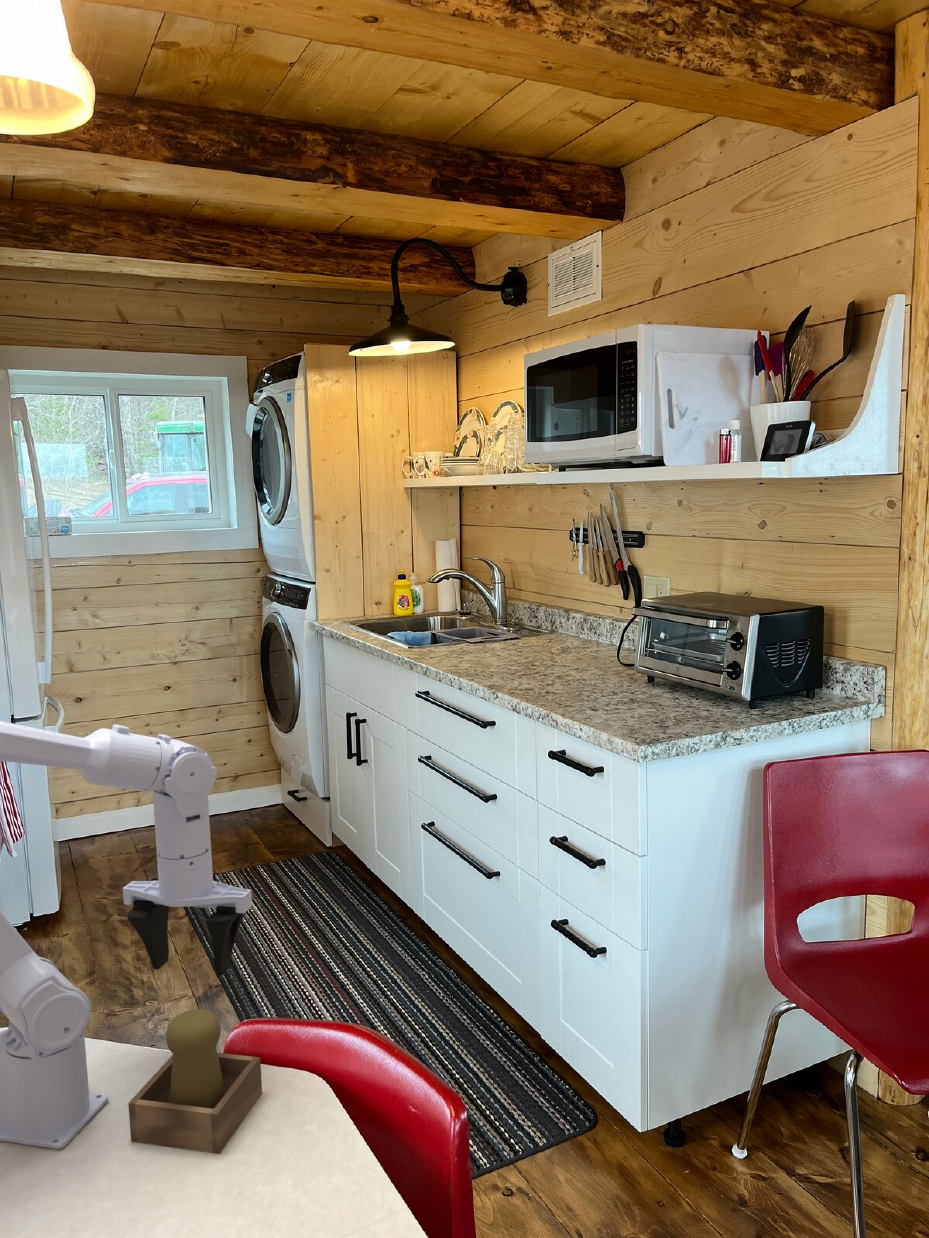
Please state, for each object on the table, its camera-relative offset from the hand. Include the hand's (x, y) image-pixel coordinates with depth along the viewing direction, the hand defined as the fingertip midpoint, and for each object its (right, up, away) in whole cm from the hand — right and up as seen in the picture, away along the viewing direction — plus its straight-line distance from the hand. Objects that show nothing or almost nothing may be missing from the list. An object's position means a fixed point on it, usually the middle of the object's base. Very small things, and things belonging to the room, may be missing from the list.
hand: (191, 967), depth 104 cm
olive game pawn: (+4, -12, -10) cm, 16 cm away
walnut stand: (+3, -12, -9) cm, 15 cm away
